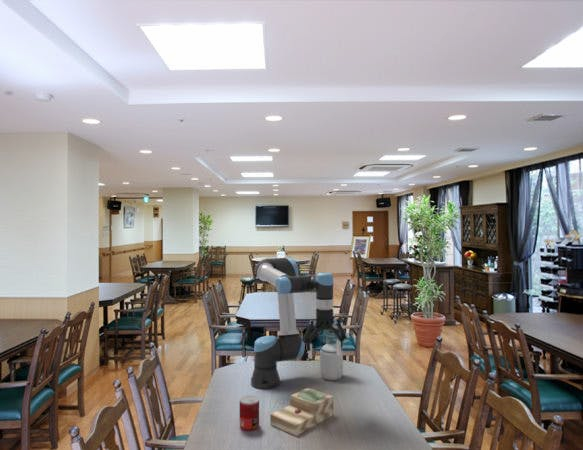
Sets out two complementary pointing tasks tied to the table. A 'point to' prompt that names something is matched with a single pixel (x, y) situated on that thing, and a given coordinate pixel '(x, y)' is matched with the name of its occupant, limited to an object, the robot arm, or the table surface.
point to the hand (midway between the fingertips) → (324, 356)
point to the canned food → (249, 413)
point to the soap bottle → (330, 359)
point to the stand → (303, 411)
